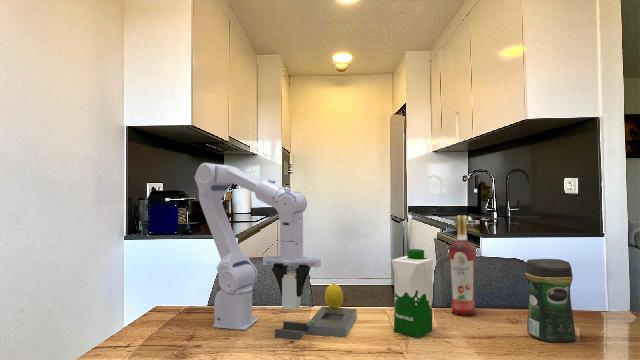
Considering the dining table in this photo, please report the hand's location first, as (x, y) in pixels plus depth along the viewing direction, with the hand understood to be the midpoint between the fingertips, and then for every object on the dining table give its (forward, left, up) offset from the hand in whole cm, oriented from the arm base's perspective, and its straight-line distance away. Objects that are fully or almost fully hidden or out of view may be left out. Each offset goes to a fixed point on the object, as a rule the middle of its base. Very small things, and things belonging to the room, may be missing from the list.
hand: (291, 295), depth 95 cm
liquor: (+43, +27, -10) cm, 51 cm away
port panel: (+9, +8, -10) cm, 15 cm away
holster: (0, 0, -10) cm, 10 cm away
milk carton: (+29, +9, -10) cm, 32 cm away
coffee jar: (+61, +13, -10) cm, 63 cm away
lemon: (+6, +21, -10) cm, 24 cm away
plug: (0, 0, -3) cm, 3 cm away
